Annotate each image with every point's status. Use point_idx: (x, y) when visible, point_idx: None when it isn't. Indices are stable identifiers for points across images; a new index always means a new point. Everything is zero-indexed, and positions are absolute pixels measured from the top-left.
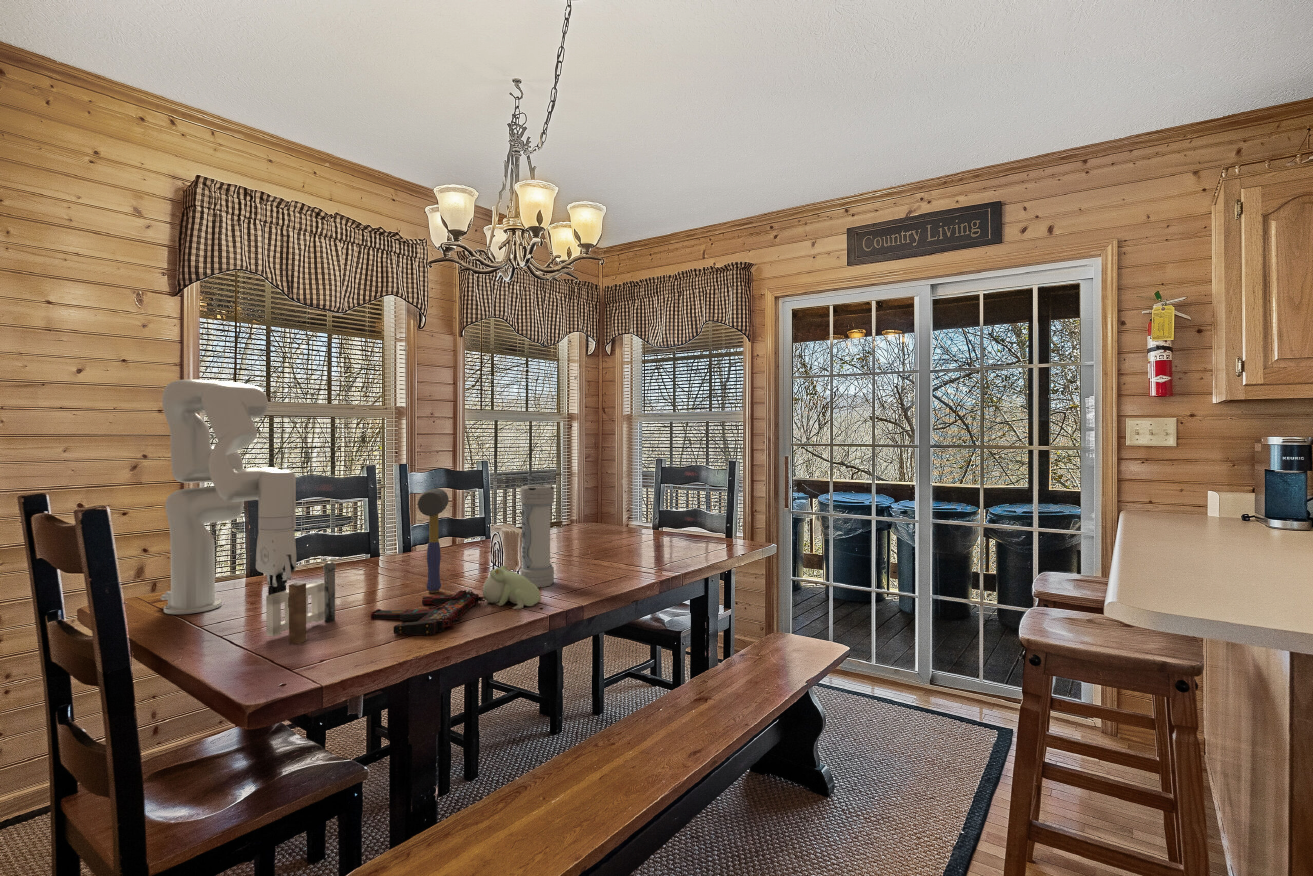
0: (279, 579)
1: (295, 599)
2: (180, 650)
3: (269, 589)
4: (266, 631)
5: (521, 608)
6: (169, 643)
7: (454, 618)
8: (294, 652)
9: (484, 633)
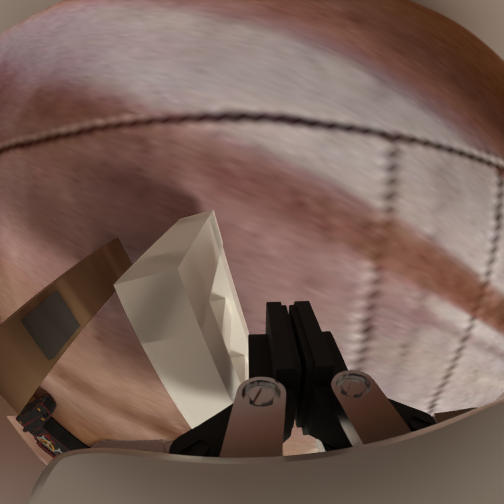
0: (183, 443)
1: (4, 321)
2: (336, 7)
3: (310, 350)
4: (212, 212)
5: None
6: (425, 37)
7: None
8: (40, 211)
9: (16, 426)
